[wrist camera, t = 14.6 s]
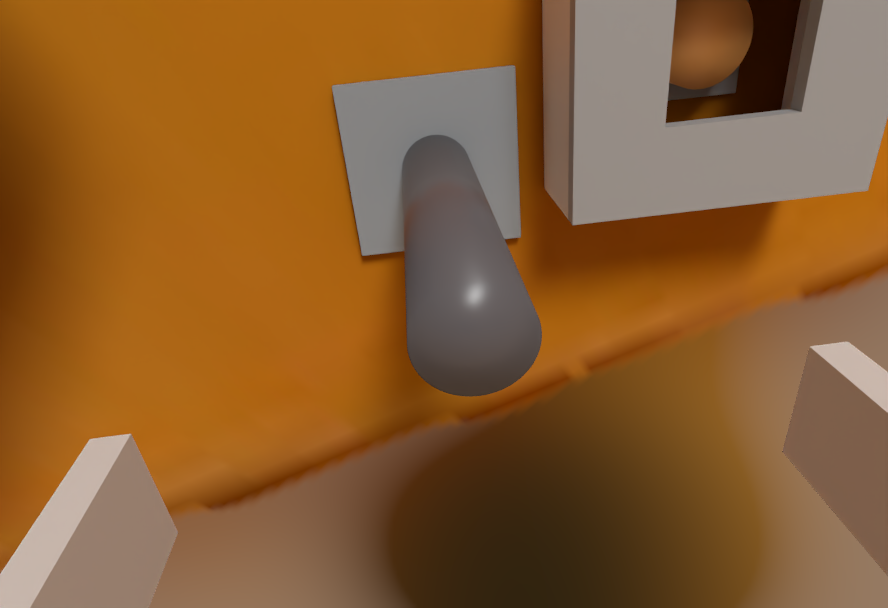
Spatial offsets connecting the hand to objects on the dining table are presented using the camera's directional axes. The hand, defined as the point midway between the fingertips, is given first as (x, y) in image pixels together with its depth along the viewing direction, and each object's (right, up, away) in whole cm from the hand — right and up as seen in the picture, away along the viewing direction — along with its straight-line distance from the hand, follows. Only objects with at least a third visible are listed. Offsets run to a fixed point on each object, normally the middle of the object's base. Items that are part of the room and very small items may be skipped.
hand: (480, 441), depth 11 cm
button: (+11, +16, +17) cm, 26 cm away
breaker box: (+11, +16, +17) cm, 26 cm away
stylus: (-1, +10, +19) cm, 21 cm away
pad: (-1, +10, +19) cm, 22 cm away
